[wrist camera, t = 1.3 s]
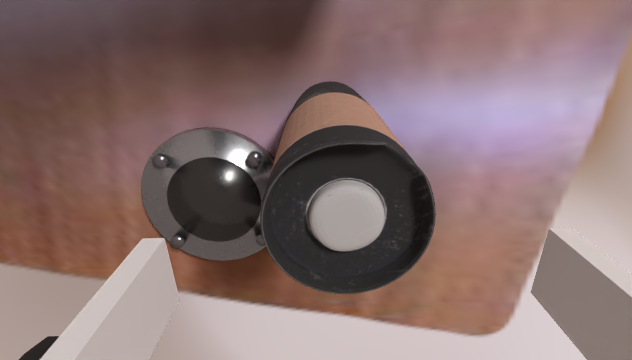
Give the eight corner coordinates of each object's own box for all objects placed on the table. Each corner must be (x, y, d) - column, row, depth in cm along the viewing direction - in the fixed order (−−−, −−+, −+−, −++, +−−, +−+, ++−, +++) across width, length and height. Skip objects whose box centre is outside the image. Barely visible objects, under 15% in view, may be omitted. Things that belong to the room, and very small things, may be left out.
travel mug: (296, 160, 34) (274, 305, 16) (283, 84, 31) (238, 151, 13) (371, 151, 34) (438, 288, 15) (366, 72, 31) (441, 125, 12)
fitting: (130, 129, 33) (95, 146, 28) (350, 123, 33) (356, 139, 27) (161, 256, 39) (138, 290, 34) (348, 252, 39) (353, 285, 33)
